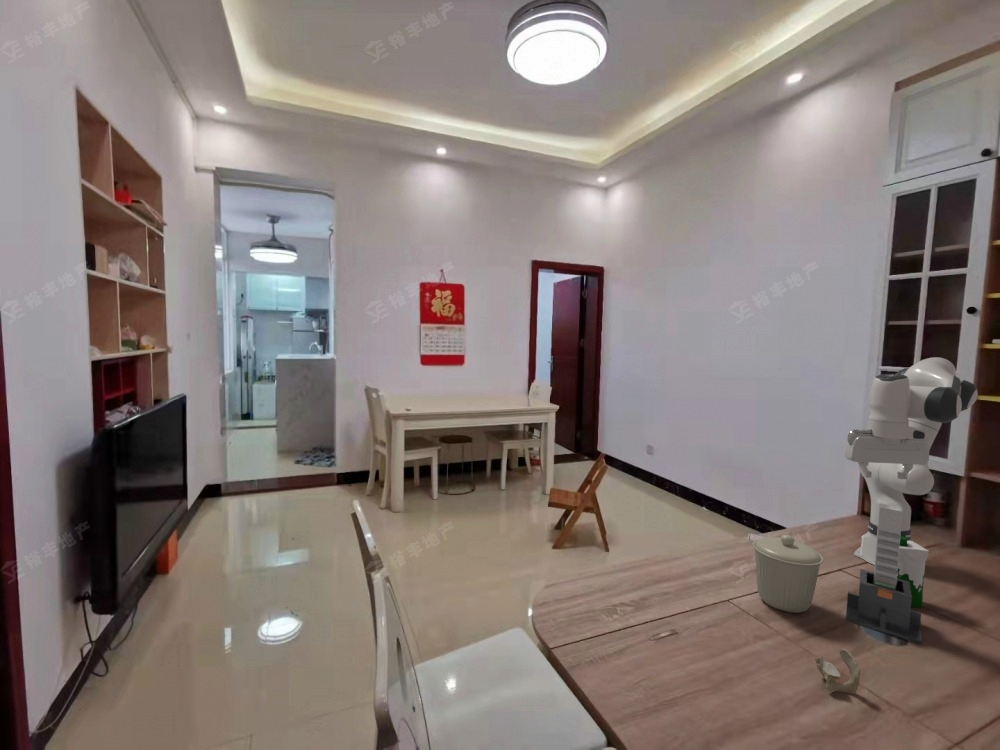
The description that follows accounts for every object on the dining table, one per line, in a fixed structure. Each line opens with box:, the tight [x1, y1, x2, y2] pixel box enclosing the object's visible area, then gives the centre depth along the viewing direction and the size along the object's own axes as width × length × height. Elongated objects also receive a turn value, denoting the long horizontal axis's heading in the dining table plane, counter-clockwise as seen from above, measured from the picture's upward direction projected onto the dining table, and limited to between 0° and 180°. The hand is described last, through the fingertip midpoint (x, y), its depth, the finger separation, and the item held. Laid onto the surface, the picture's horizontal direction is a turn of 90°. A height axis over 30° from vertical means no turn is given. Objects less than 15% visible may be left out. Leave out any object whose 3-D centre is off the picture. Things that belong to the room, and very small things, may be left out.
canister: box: [751, 534, 824, 614], centre depth 136 cm, size 18×18×21 cm
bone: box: [814, 648, 862, 695], centre depth 103 cm, size 9×6×10 cm
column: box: [873, 504, 902, 590], centre depth 129 cm, size 6×5×24 cm
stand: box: [845, 568, 923, 645], centre depth 130 cm, size 16×16×11 cm
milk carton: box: [897, 536, 930, 609], centre depth 140 cm, size 9×9×20 cm
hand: (884, 477), depth 131 cm, fingers open, 8 cm apart
